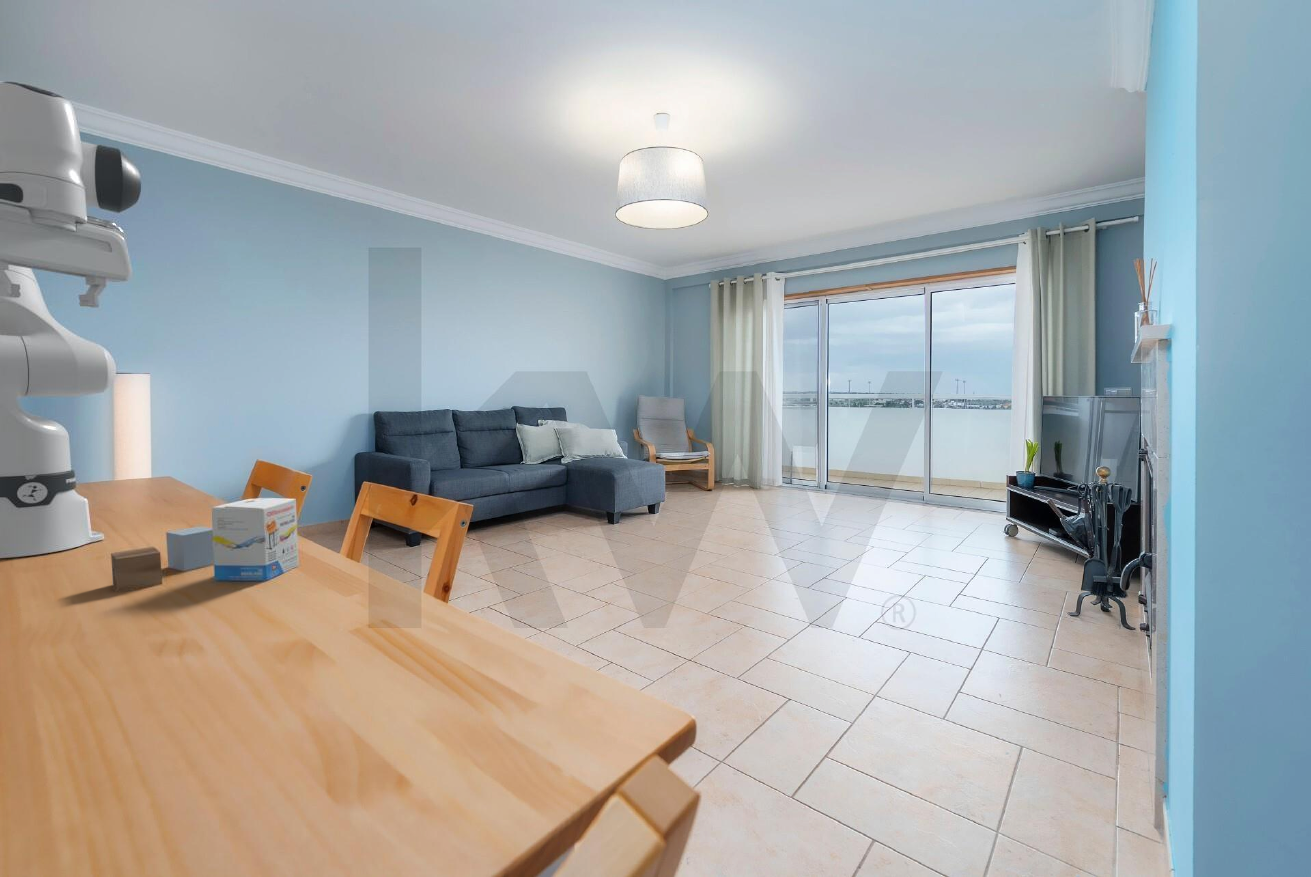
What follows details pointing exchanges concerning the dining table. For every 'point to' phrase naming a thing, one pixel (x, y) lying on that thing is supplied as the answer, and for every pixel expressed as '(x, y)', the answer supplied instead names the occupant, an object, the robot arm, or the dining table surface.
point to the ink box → (254, 539)
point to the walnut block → (136, 568)
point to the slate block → (190, 548)
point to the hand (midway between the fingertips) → (51, 302)
